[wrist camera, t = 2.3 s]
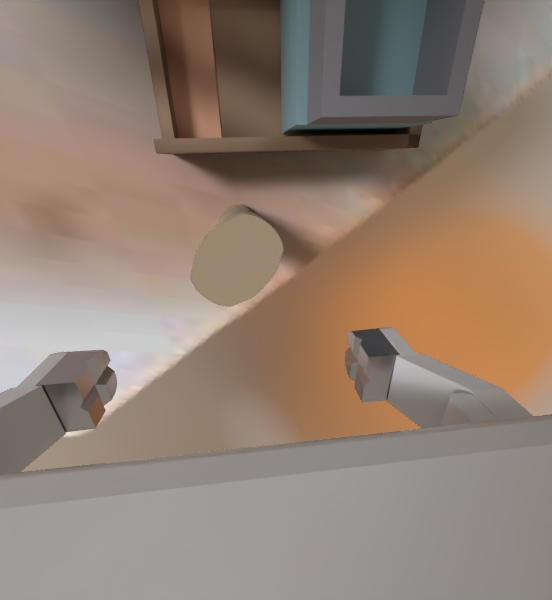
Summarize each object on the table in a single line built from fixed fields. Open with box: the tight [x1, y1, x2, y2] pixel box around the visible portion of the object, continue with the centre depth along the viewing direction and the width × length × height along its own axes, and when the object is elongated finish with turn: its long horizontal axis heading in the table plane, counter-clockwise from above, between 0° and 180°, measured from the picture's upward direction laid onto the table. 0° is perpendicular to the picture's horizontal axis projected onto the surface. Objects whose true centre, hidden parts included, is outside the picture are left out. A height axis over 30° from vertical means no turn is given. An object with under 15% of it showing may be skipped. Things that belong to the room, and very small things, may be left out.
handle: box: [190, 204, 284, 307], centre depth 25 cm, size 5×6×15 cm
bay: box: [138, 0, 422, 154], centre depth 23 cm, size 13×22×6 cm, turn 91°
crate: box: [280, 0, 484, 134], centre depth 20 cm, size 10×10×12 cm
